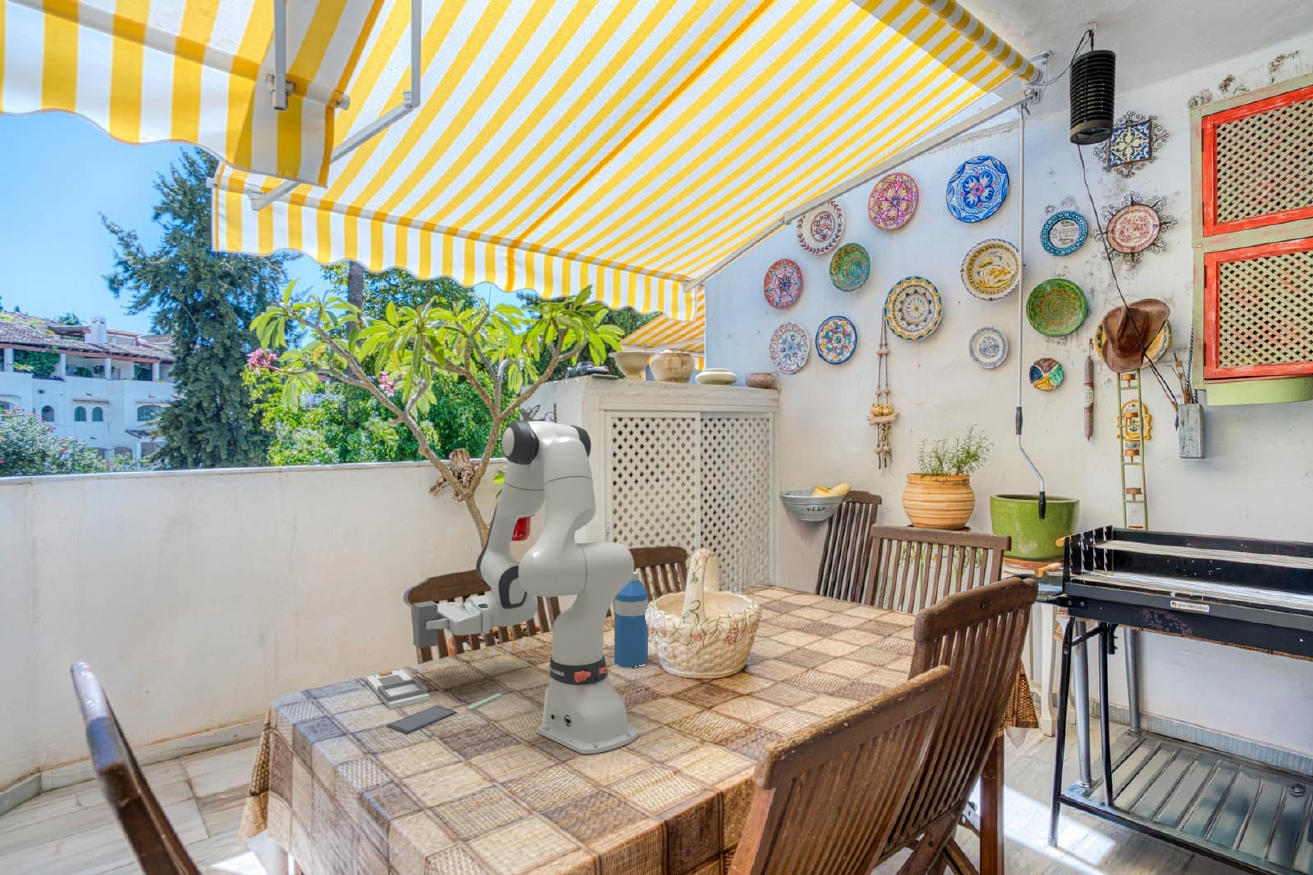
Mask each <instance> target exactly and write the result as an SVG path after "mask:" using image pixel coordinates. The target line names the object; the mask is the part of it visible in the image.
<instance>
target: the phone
mask: <svg viewBox="0 0 1313 875" xmlns="http://www.w3.org/2000/svg"><path fill="white" fill-rule="evenodd" d="M457 713H458V712H457V711H455V710H453V709H450V708H446V707H443V706H442V705H441V706H440V705H437V704H436V705H433V706H431V707H429V708H426V709H423V710H421V711H418V712H415V713H414V714H411V715H408V716H406V717H403V718H401V719H399V720H395V721H394V722H390V723H388V724H386V728H388V729H391V730H394V731H397V732H399V733H401V734H404V735H409V734H411V733H412V734H413V733H414V732H416V731H419V730H421V729H423V728H426V727H428V726H430V725H433V724H435V723H437V722H440V721H442V720H444V719H447V718H449V717H452V716H454V715H456V714H457Z"/></svg>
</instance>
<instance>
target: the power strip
mask: <svg viewBox="0 0 1313 875" xmlns="http://www.w3.org/2000/svg"><path fill="white" fill-rule="evenodd" d="M399 670H400V671H397V670H394V671H393V670H391V669H390V670H389V669H388V670H385V671H380V672H379V673H378V674H372V675H369V676H365V683H366V684H367V685H368V686H369V687H370V689H371V690H372V691H373V692H374V693H375V694H376V695H377V696H378V698H380V700H381V701H382V702H383V703H384V704H385V705H386V707H388V709H389V710H393V709H399V708H402V707H406V706H411V705H416V704H419V703H424V702H428V701H430V700H431V695H430V694H429V689H428V687H426V685H424V684H423V683H422V682H421V681H420V680H419V679H418V678H417V677H414V678H412V677H411V676H410V675H409V674H408V673H407V672H405V671H404V670H403V669H399ZM385 673H386V674H385ZM379 675H380V676H379ZM374 676H376V677H374Z"/></svg>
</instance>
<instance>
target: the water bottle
mask: <svg viewBox="0 0 1313 875" xmlns="http://www.w3.org/2000/svg"><path fill="white" fill-rule="evenodd" d="M639 574H640V573H639V571H636V570H634V572H633V576H632V578H631V580H630V582H629V583H628V584H627V585H626V586H625V587H624V588H623V589H622V590H621V591H620V592H619V593H618V594H617V595H616V597H615V598H614V636H613V637H614V644H613V646H614V653H613V654H614V664H615V665H616V664H618V665H619V666H621V667H620V668H625V667H635V666H639V665H643V664H646V665H647V663H648V662H649V625H648V626H647V624H646V620H645V613H646V609H647V606H648V607H649V591H648V590H647V589H646V587H645V585H644V584H643V583H642V582H641V580H640V576H639ZM647 661H648V662H647ZM646 662H647V663H646ZM618 665H617V666H618ZM619 666H618V667H619Z"/></svg>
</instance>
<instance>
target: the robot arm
mask: <svg viewBox="0 0 1313 875" xmlns="http://www.w3.org/2000/svg"><path fill="white" fill-rule="evenodd" d="M501 451H502V454H503V456H504V458H505V459H506V460H507V464H506V467H505V472H504V477H503V482H502V488H501V493H500V497H499V498H498V501H497V503H496V506H495V509H494V511H493V512H494V513H493V515H492V519H491V523H490V526H489V532H488V535H487V538H486V542H485V545H484V547H483V549H482V550H481V552H480V554H479V556H478V557H477V560H476V565H475V570H476V573H477V575H478V577H479V578H480V579H481V580H482V581H484V582H485V583H486V584H487V585H488V586H489V587H490V592H489V594H484V595H477V596H469V597H467V598H466V599H465V601H464V602H462V603H459V602H457V601H453V602H452V601H450V602H440V603H437V604H438V620H434V621H433V620H429V621H425V628H426V629H428V630H429V629H438V630H446V631H448V632H449V633H451V634H452V635H453V636H469V635H477V634H481V635H488V634H489V635H490V633H491V630H492V629H494V628H497V627H505V628H506V627H510V626H515V625H519V624H522V623H525V622H528V621H530V620H531V619H532V618H534V616H535V615H536V613H537V610H538V605H539V602H538V597H542V598H554V597H565V596H574V595H576V598H575V600H574V602H573V603H572V604H571V606H570V607H568V608H567V609H566V610H564V611H563V612H561V613H559V615H557V617H556V619H555V620H554V622H553V624H552V629H551V631H552V632H551V636H552V638H551V640H552V641H551V657H550V659H549V676H550V677H551V678H550V682H549V684H548V686H547V687H546V689H545V693H544V701H543V702H544V703H543V713H542V722H541V723H540V725H538V727H537V734H539V735H540V736H543V737H546V738H547V739H549V740H552V741H554V742H556V743H558V744H560V745H563V746H565V748H568V749H570V750H573V751H576V753H579V754H582V755H588V754H589V755H590V754H600V753H603V752H607V751H611V750H615V749H618V748H620V747H623V746H626V745H627V744H630V743H632V742H633V741H635V740H636V739H637V738H638V737H639V730H638V729H637V728H636V727H635V726H634V725H632V723H631V722H629V721H628V720H627V718H628V716H627V708H626V698H625V696H624V695H619V693H618V692H617V690H616V689H615V687H614V685H613V684H612V682H611V680H610V679H609V676H608V675H609V672H610V670H608V669H609V668H610V666H607V661H606V658H605V655H604V632H605V630H604V629H605V623H606V618H607V614H608V612H609V609H610V607H611V605H612V603H613V602H614V601H615V597H616V595H617V594H618V593H619V592H620V591H621V590H622V589H623V588H624V587H625V586H626V585H627V584H628V583H629V582H630V580H631V578H632V576H633V572H634V571H635V561H634V558H633V555H632V552H631V550H630V549H629V548H628V546H626V545H625V544H623V543H618V542H610V541H593V542H592V541H591V542H581V543H579V542H578V543H577V542H576V541H575V536H576V535H575V534H576V531H578V530H580V529H582V528H584V527H585V526H586V525H587V524H589V523H590V522H591V521H593V518H594V517H595V515H596V512H597V507H596V505H597V504H596V499H595V497H596V496H595V490H594V488H595V487H594V482H593V481H594V480H593V474H592V468H591V464H590V461H589V458H590V454H591V452H592V442H591V438H590V435H589V433H588V431H587V430H586V429H585V428H582V427H580V426H577V425H573V424H571V425H568V424H563V423H558V422H551V421H544V420H543V421H542V420H530V421H529V420H526V419H523V420H515V421H511V422H510V423H508V424H507V426H506V427H505V428H504V431H503V433H502V437H501ZM544 502H545V503H544ZM543 504H545V518H544V525H543V528H542V531H541V533H540V536H539V537H538V539H537V540H536V542H535V543H534V544H533V545H531V548H529V549H528V550H527V551H526V552H525V553H524V554H523V556H522V558H521V560H520V561H519V560H518V559H517V558H516V557H514V555H513V553H512V551H511V543H512V539H513V535H514V532H515V531H514V530H515V527H516V524H517V521H518V520H519V519H520V518H528V517H532V516H533V515H535V514H537V513H538V512H539V511H540V510H541V509H542V507H543Z"/></svg>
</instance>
